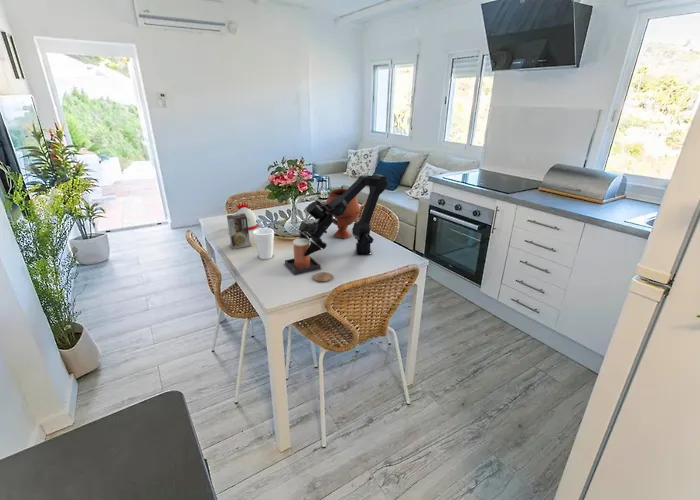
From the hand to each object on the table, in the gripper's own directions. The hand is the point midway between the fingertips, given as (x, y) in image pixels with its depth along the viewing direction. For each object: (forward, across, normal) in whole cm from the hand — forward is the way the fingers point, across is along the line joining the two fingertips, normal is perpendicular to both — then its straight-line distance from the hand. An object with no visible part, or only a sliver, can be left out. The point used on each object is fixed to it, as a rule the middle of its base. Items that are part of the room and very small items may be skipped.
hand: (300, 252), depth 156 cm
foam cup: (+13, -18, -2) cm, 23 cm away
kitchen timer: (+11, -66, 0) cm, 66 cm away
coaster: (+2, +14, +8) cm, 16 cm away
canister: (+4, 0, +5) cm, 7 cm away
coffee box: (+18, -38, -7) cm, 43 cm away
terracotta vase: (-20, -26, +30) cm, 45 cm away
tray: (+5, 0, +6) cm, 7 cm away
